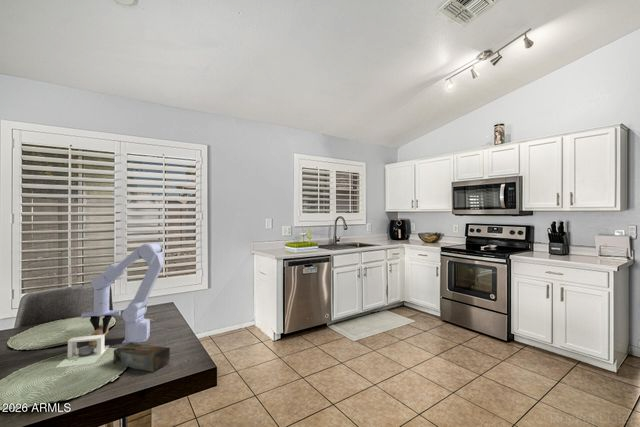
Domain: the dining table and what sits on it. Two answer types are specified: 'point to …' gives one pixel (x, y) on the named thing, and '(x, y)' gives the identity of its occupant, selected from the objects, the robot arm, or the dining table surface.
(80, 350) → the token
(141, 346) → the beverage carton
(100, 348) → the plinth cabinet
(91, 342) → the blade batten
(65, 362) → the floor board
